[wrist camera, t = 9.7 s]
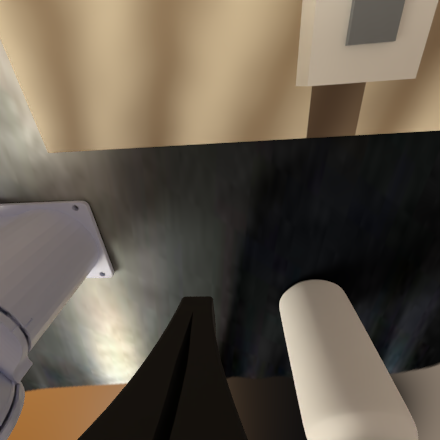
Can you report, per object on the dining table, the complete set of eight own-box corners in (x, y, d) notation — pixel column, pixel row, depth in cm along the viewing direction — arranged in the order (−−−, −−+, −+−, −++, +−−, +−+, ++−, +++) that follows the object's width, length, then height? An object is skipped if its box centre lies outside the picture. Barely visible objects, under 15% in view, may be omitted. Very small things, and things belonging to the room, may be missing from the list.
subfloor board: (57, 149, 17) (48, 153, 16) (-43, -104, 11) (-66, -119, 11) (436, 127, 15) (448, 129, 14) (551, -191, 9) (583, -219, 9)
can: (322, 265, 21) (407, 435, 11) (357, 303, 24) (455, 476, 13) (265, 297, 24) (290, 462, 13) (301, 329, 26) (346, 493, 16)
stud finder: (295, 86, 14) (309, 86, 11) (307, -65, 11) (329, -109, 8) (385, 79, 13) (420, 78, 11) (423, -79, 10) (482, -129, 8)
